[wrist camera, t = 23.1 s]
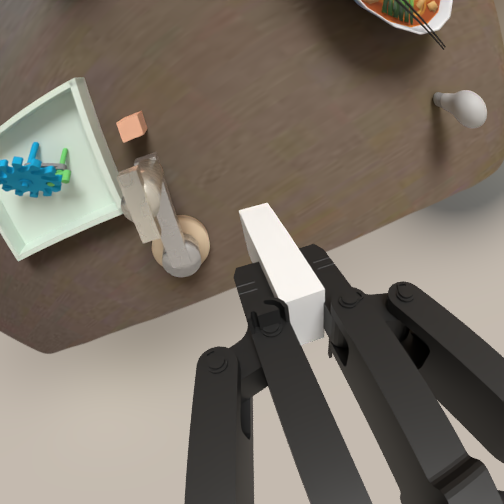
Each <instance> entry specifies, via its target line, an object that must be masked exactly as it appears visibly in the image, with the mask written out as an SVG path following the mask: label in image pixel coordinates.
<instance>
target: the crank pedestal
mask: <svg viewBox="0 0 504 504" xmlns="http://www.w3.org/2000/svg"><path fill="white" fill-rule="evenodd" d="M177 218H178V221H179V224H180V227H181V229H182V232H183V233H187V234H190V235H192V236H193V237H194V238H195V239H196V240H197V242H198V244H199V249H200V255H201V263H203V261H204V260H205V259H206V258H207V256H208V253H209V250H210V242H209V237H208V233H207V230H206V228H205V227H204V225H203V224H202V223H201V222H200V221H199V220H197V219H196V218H194V217H191V216H187V215H177ZM152 252H153V255H154V258H155V259H156V261H157V262H158V263H159V264H160V265H162V266H163V264H162V253H163V243H162V240H161V238H159V239H156V240H153V241H152Z"/></svg>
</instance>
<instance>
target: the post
mask: <svg viewBox="0 0 504 504" xmlns="http://www.w3.org/2000/svg"><path fill="white" fill-rule="evenodd" d="M116 124H117V126H118V129H119V132H120V135H121V138H122V140H123V143H124V142H126V141H129V140H131V139H134V138H136V137H139V136H141V135H144V133H145V132H146V130H147V126H146V123H145V120H144V117H143V114H142V111H140V112H137V113H135V114H132V115H130V116H127V117H125V118H123V119H121V120H120V121H118V122H117V123H116Z"/></svg>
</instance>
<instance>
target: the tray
mask: <svg viewBox="0 0 504 504" xmlns="http://www.w3.org/2000/svg"><path fill="white" fill-rule="evenodd" d="M33 142H38V143H39V147H38V151H37V154H36V158H35V159H38V160H40V161H41V162H42V163H59V162H60V158H61V154H62V150H63V148H67V149H68V152H67V156H66V160H65V165H67V170H70V171H71V176H70V181H69V183H67V184H65V183H62V182H61V184H62V186H61V190H60V191H59V192H53V191H52V196H43V191H39V194H38V198H34V197H30V191H28V192H25V193H24V194H23V196H18V195H16V194H15V190H10V191H8V192H6V191H4V190H3V189H2V185H3V184H0V233H1V235H2V236H3V238H4V240H5V241H6V243H7V245H8V246H9V248H10V249H11V251H12V253H13V254H14V256H15V257H16V259H17V260H18V261H20V260H22V259H24V258H26V257H28V256H30V255H32V254H34V253H36V252H38V251H40V250H42V249H44V248H46V247H48V246H50V245H52V244H55V243H57V242H59V241H61V240H63V239H65V238H67V237H70V236H72V235H74V234H76V233H79V232H81V231H83V230H85V229H88V228H90V227H92V226H95V225H97V224H99V223H102V222H104V221H107V220H109V219H112V218H114V217H116V216H119V215H121V214H123V212H122V210H121V199H122V197H123V194H122V191H121V188H120V186H119V183H118V180H117V178H116V177H117V176H118V174H119V173H118V170H117V168H116V166H115V163H114V161H113V158H112V156H111V153H110V150H109V148H108V145H107V143H106V140H105V137H104V135H103V132H102V129H101V127H100V124H99V121H98V118H97V115H96V112H95V109H94V106H93V104H92V101H91V97H90V94H89V91H88V88H87V85H86V82H85V78H84V77H82V78H73V79H71V80H69V81H68V82H66V83H64V84H62V85H61V86H59V87H57V88H55V89H54V90H52V91H50V92H49V93H47V94H46V95H44V96H42V97H41V98H39V99H38V100H36V101H35V102H33V103H32V104H30V105H29V106H27V107H26V108H24V109H23V110H22V111H20V112H19V113H17V114H16V115H15V116H13V117H12V118H11V119H9V120H8V121H7V122H5V123H4V124H3V125H2V126H0V160H3V159H6V160H8V166H10V167H13V166H12V161H13V158H14V156H17V157H22V158H23V163H22V166H24V164H25V163H27V161H28V157H29V154H30V150H31V147H32V143H33Z"/></svg>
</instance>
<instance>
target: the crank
mask: <svg viewBox="0 0 504 504" xmlns="http://www.w3.org/2000/svg"><path fill="white" fill-rule="evenodd" d="M163 174H164V172H163V167H162V165H161V164H160V162H159V158H158V155H157V152H155V153H152V154H149V155H146V156H143V157H140V158H137V159H136V160H135V162H134V167H131V168H128V169H125V170H123V171H120V172H119V174H118V176H117V177H116V178H117V180H118V183H119V186H120V188H121V191H122V194H123V197H122V199H121V210H122V212H123V214H124V215H125V217H126V218H127V219H129V220H130V221H132V222H134V224H135V226H136V228H137V231H138V233H139V235H140V238H141V240H142V242H143V243H146V242H149V241H153V240H156V239H159V238H161V240H162V243H163V253H162V264H163V267H164V269H165V270H166V271H167V272H168V273H169V274H170V275H172V276H175V277H187V276H190V275H192V274H194V273H195V272H196V271H197V270H198V269H199V267H200V265H201V255H200V249H199V244H198V242H197V240H196V239H195V238H194V237H193V236H192V235H190V234H187V233H183V232H182V229H181V227H180V224H179V221H178V218H177V215H176V212H175V209H174V206H173V203H172V200H171V197H170V194H169V190H168V187H167V184H166V181H165V178H164V175H163Z"/></svg>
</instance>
